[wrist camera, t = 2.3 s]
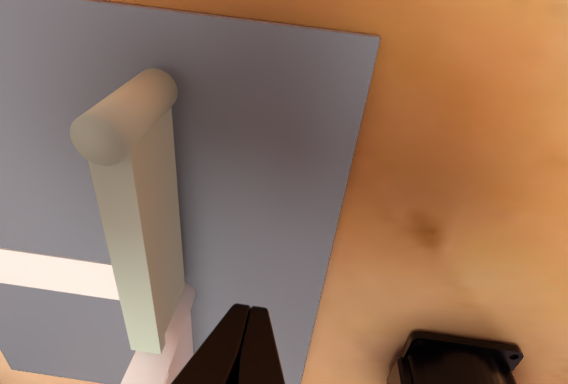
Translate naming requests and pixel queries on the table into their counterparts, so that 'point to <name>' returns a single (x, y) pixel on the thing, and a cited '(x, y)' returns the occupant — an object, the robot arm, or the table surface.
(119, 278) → the swinging fence panel
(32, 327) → the card
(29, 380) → the table surface
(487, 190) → the table surface
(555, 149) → the table surface
